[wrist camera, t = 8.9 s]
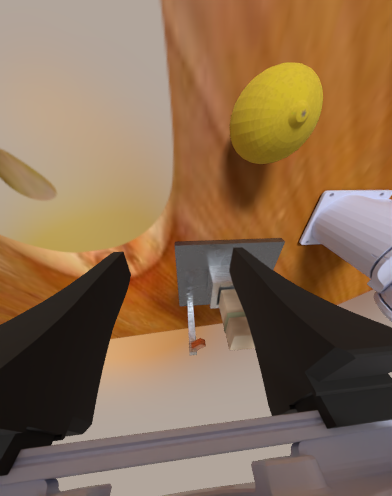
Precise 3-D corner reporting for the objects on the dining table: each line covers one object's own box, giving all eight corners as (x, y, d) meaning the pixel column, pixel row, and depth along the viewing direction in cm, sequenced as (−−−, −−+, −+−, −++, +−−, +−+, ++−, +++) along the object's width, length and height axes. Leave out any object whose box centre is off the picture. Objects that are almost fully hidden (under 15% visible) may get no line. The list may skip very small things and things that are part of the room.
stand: (281, 238, 23) (332, 286, 15) (258, 296, 31) (284, 347, 23) (174, 241, 21) (172, 296, 14) (179, 301, 29) (179, 357, 22)
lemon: (263, 162, 17) (318, 175, 10) (215, 155, 16) (240, 164, 9) (287, 93, 14) (387, 46, 7) (228, 79, 13) (279, 12, 6)
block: (245, 288, 21) (266, 333, 16) (241, 303, 23) (258, 348, 18) (220, 289, 21) (233, 336, 16) (218, 305, 23) (229, 350, 18)
